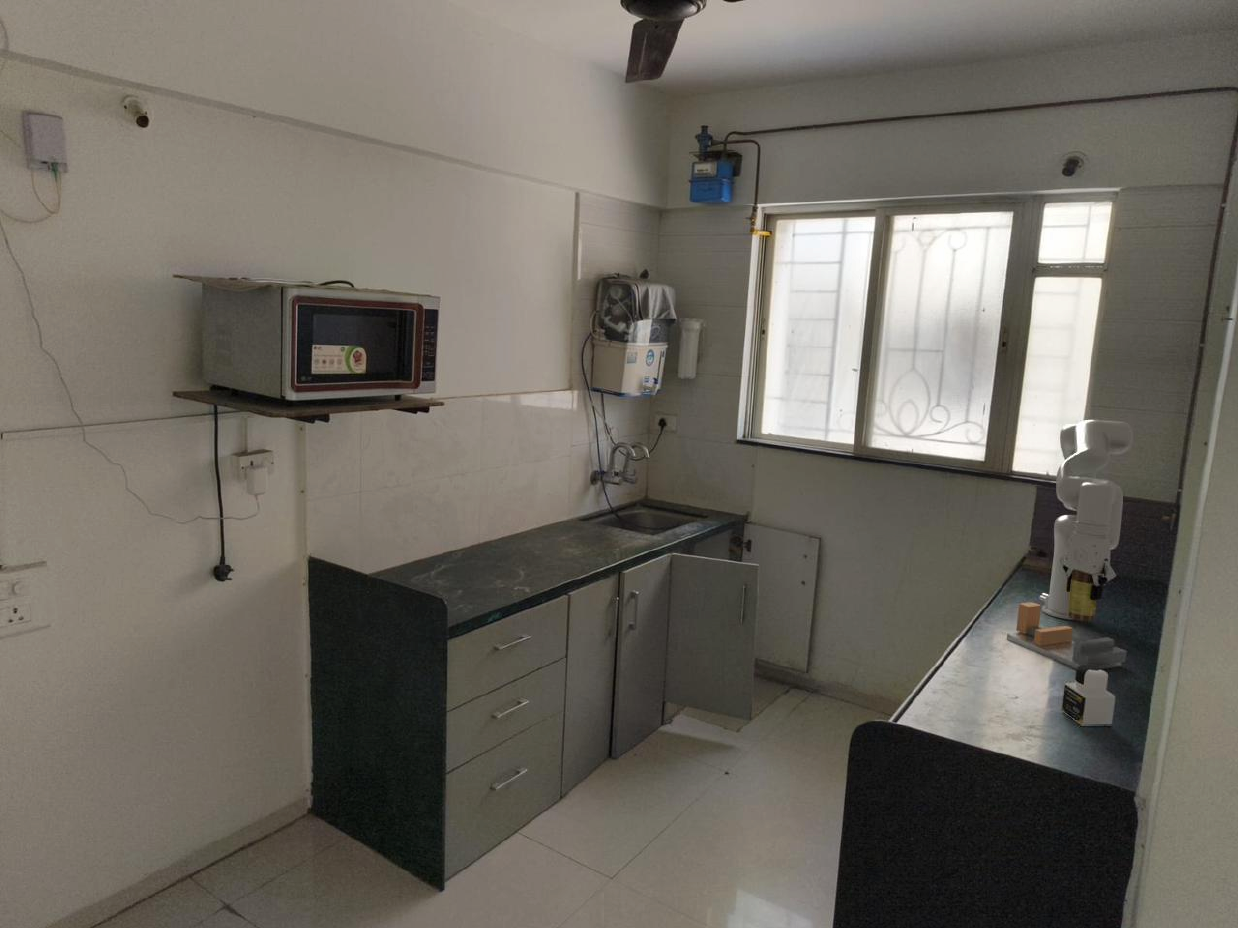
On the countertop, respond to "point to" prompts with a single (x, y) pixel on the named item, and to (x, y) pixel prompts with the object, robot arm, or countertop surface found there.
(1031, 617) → the sliding jaw
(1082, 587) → the sauce bottle
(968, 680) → the countertop surface
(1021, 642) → the vise base
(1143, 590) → the countertop surface
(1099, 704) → the medicine bottle
